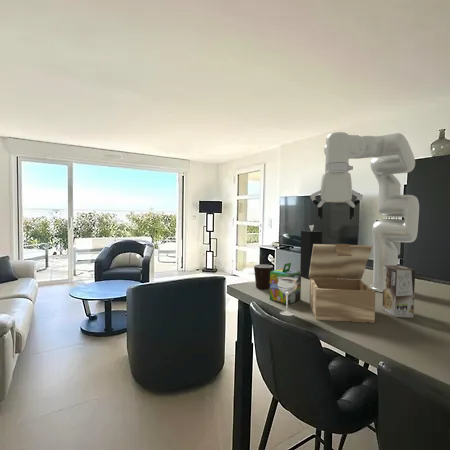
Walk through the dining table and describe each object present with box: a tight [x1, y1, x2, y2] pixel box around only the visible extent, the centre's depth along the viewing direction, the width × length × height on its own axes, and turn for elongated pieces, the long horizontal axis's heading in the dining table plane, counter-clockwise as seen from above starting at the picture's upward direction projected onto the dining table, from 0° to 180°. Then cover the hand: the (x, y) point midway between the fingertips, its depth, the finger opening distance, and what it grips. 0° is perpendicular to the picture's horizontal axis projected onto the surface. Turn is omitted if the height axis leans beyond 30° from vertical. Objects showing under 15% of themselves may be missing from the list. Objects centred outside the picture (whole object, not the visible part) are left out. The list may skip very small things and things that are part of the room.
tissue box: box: [299, 224, 323, 280], centre depth 161 cm, size 8×8×28 cm
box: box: [309, 278, 376, 324], centre depth 106 cm, size 17×18×10 cm
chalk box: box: [269, 262, 302, 305], centre depth 120 cm, size 9×9×15 cm
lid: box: [309, 243, 373, 280], centre depth 107 cm, size 18×19×5 cm
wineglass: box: [277, 277, 297, 317], centre depth 104 cm, size 7×7×12 cm
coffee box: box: [382, 264, 416, 319], centre depth 105 cm, size 9×6×16 cm
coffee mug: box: [253, 263, 274, 291], centre depth 138 cm, size 12×9×10 cm
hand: (335, 219), depth 106 cm, fingers open, 9 cm apart
